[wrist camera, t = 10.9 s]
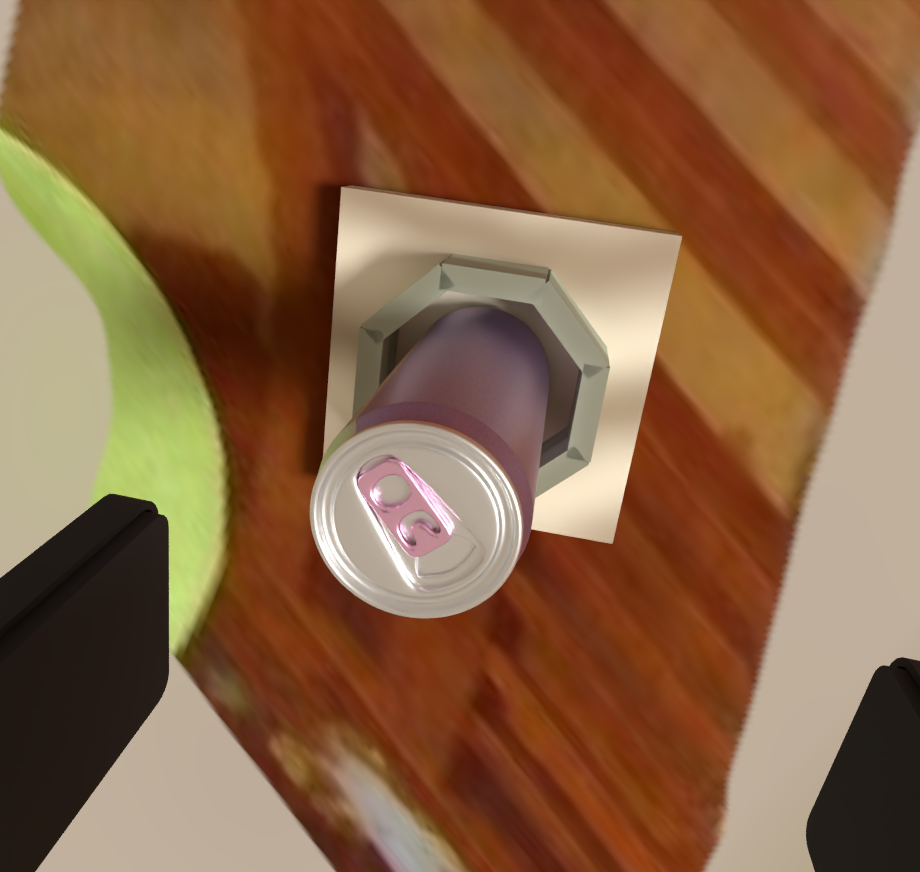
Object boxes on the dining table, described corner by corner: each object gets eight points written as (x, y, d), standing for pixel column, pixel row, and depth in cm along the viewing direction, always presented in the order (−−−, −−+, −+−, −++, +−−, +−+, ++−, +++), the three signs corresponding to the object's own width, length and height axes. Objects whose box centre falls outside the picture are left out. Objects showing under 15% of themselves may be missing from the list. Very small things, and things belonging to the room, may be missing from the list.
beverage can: (501, 276, 32) (441, 371, 18) (576, 392, 33) (575, 564, 19) (388, 351, 34) (256, 489, 20) (464, 458, 35) (389, 659, 21)
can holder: (351, 185, 33) (318, 190, 29) (677, 232, 32) (692, 244, 28) (330, 478, 38) (299, 518, 34) (611, 529, 37) (615, 576, 33)
